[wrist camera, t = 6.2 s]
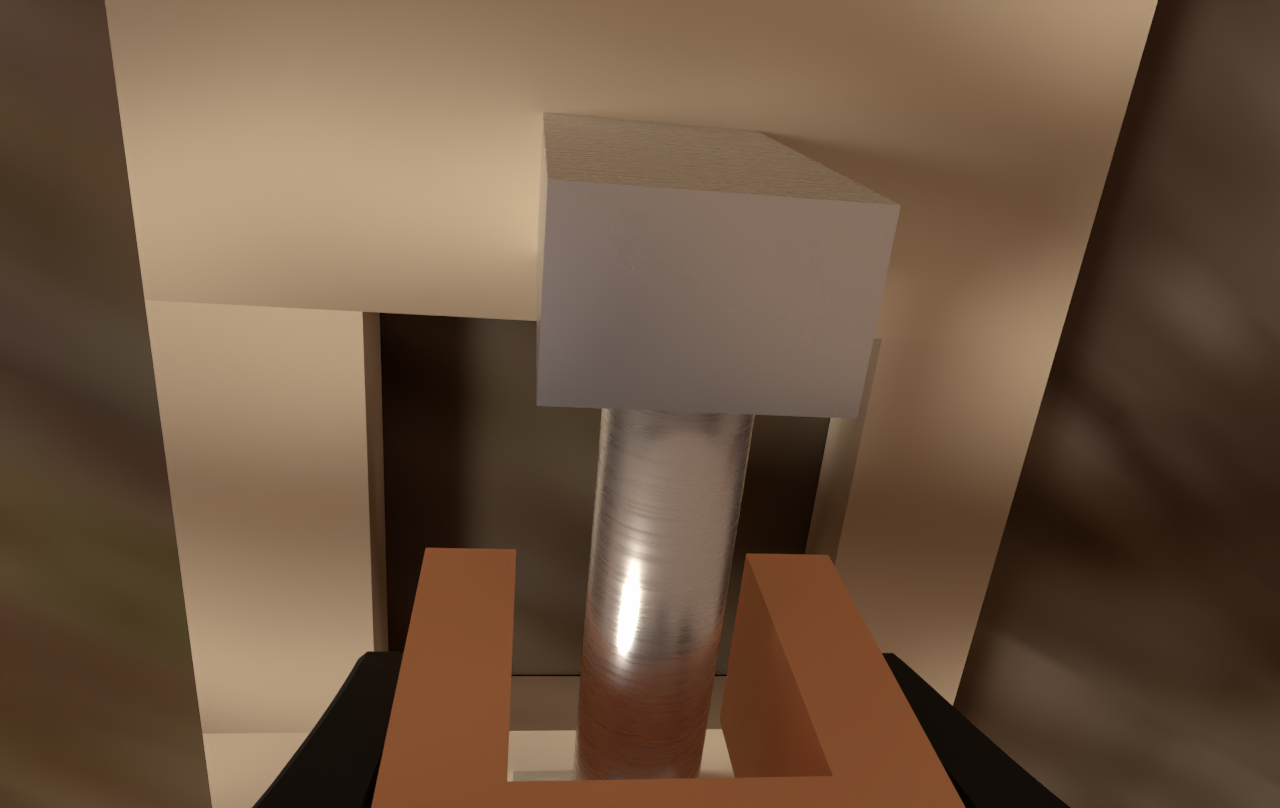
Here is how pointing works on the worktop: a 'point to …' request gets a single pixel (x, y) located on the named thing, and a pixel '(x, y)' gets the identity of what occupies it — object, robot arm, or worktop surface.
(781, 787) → the notched orange block
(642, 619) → the grey rod with blocks
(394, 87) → the shelf board
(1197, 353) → the worktop surface
